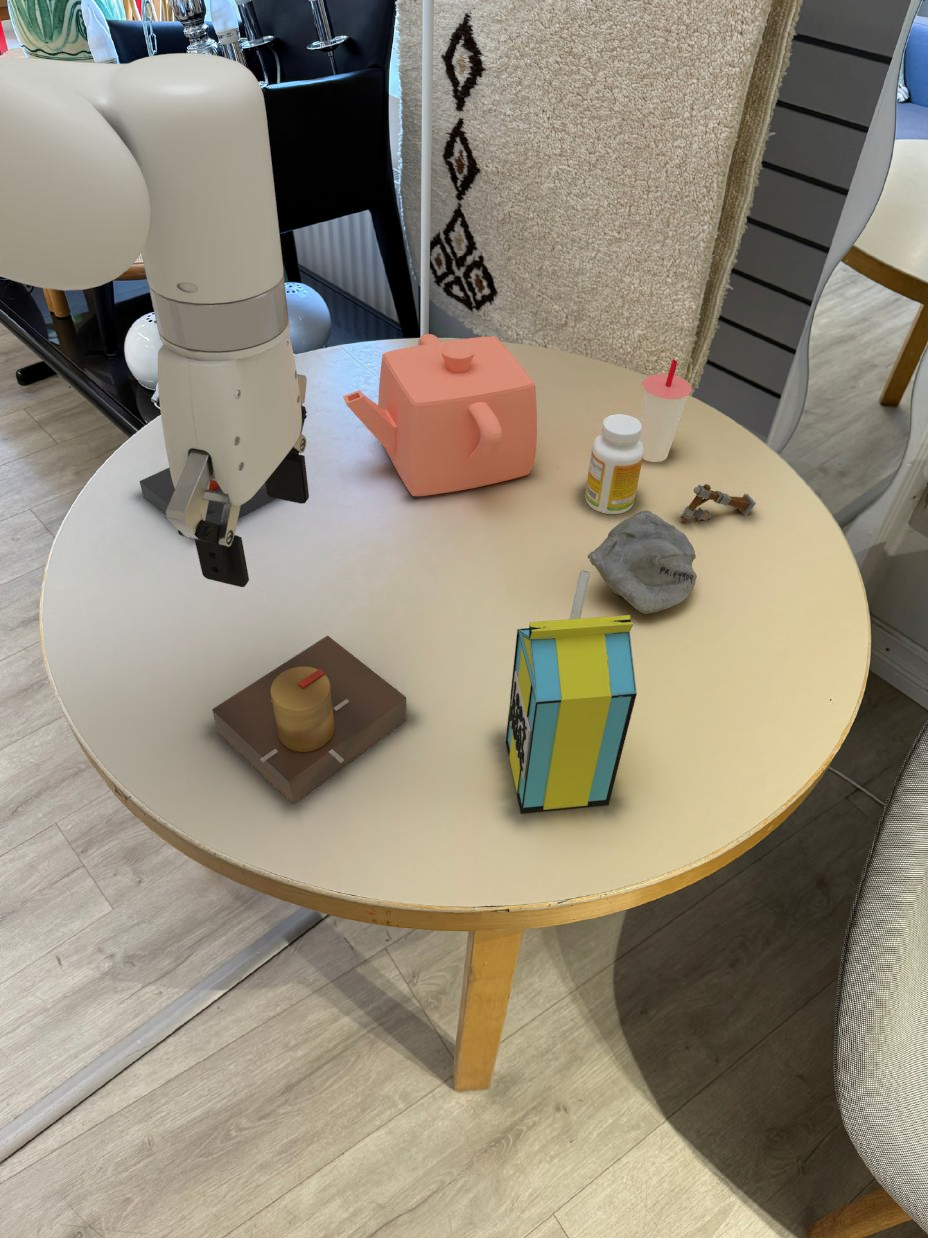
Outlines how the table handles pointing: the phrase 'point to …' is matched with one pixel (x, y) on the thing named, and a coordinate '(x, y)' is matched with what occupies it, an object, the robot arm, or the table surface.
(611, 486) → the supplement bottle
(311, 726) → the knob
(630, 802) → the table surface
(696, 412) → the table surface
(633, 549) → the fossil
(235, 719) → the panel
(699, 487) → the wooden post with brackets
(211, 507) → the button block
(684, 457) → the table surface
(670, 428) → the cup
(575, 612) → the carton
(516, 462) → the teapot
